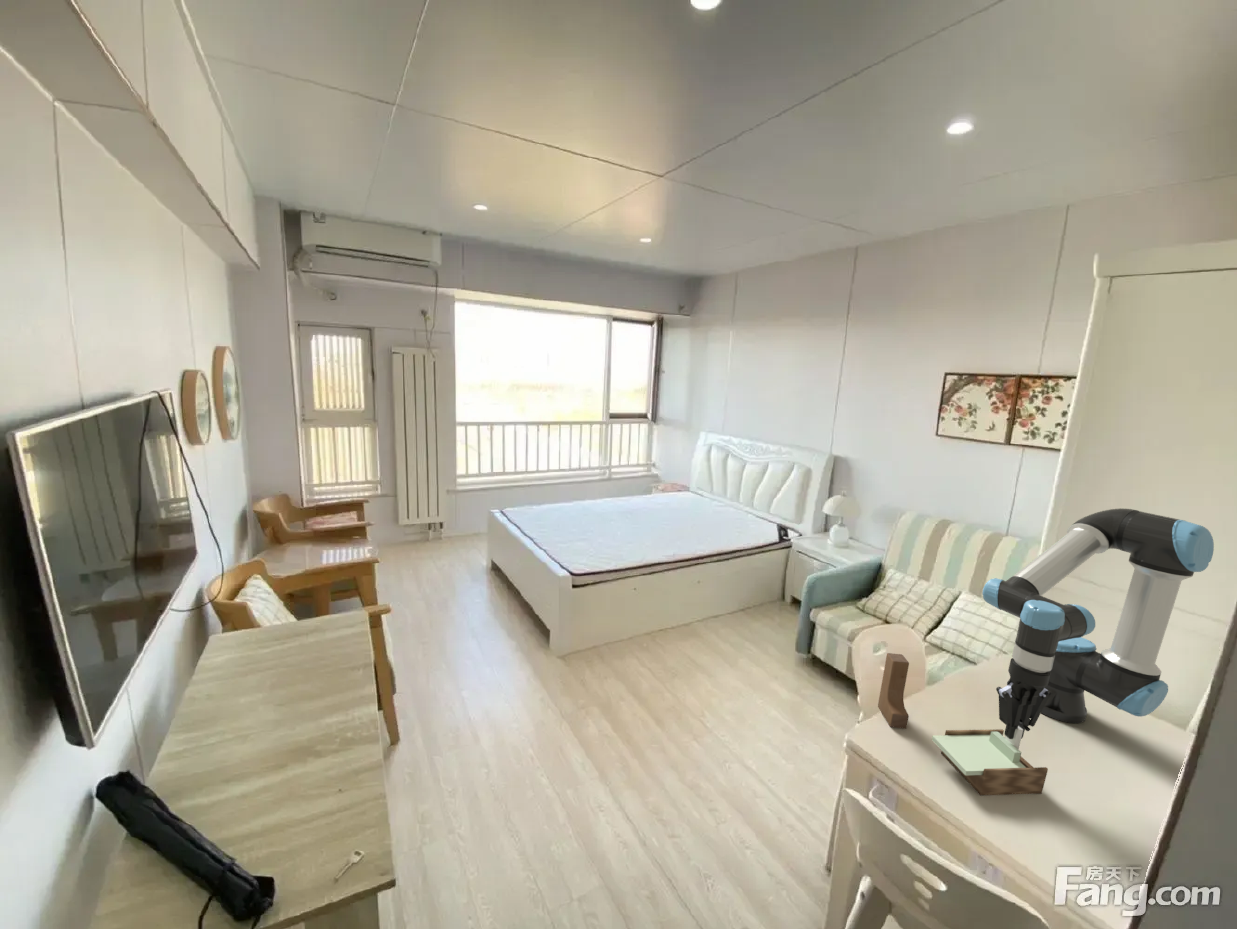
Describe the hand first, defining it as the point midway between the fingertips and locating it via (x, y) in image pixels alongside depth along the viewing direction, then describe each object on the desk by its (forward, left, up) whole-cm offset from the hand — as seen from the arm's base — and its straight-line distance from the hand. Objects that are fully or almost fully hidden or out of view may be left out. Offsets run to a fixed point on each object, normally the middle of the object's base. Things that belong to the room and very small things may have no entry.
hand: (1010, 748), depth 123 cm
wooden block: (+17, -20, -7) cm, 27 cm away
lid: (+8, 0, -2) cm, 9 cm away
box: (+4, 0, -7) cm, 8 cm away
